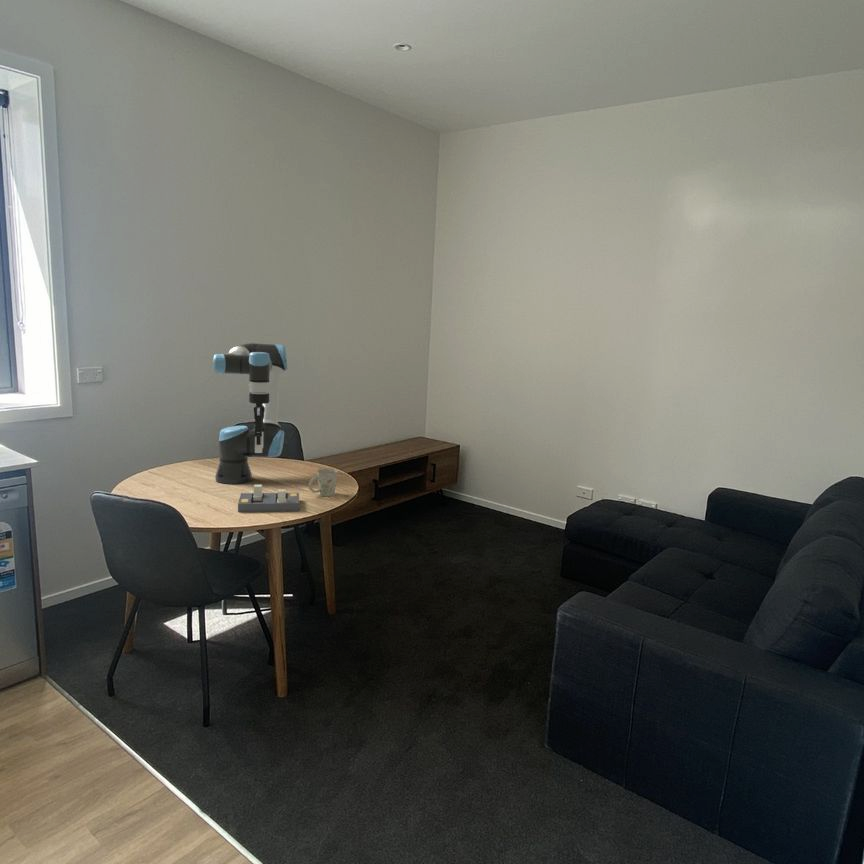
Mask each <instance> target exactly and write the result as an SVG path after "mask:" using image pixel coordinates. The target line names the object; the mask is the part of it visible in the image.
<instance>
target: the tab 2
mask: <svg viewBox="0 0 864 864" xmlns="http://www.w3.org/2000/svg"><path fill="white" fill-rule="evenodd" d="M286 491H287V490H286V489H277V493H278V499H277V503H286V499H285V496H286V493H287V492H286Z"/></svg>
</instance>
